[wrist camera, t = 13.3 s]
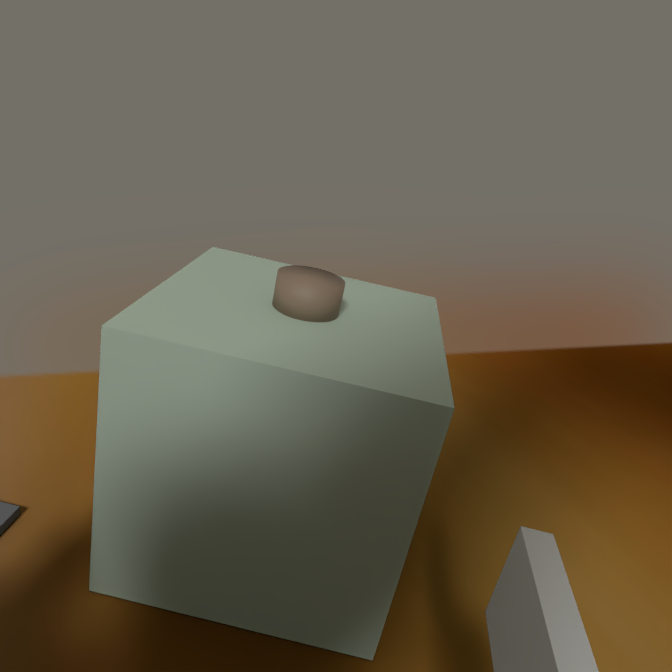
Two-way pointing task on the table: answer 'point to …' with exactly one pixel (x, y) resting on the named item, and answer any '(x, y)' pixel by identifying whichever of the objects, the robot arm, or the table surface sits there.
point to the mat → (7, 515)
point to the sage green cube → (267, 447)
